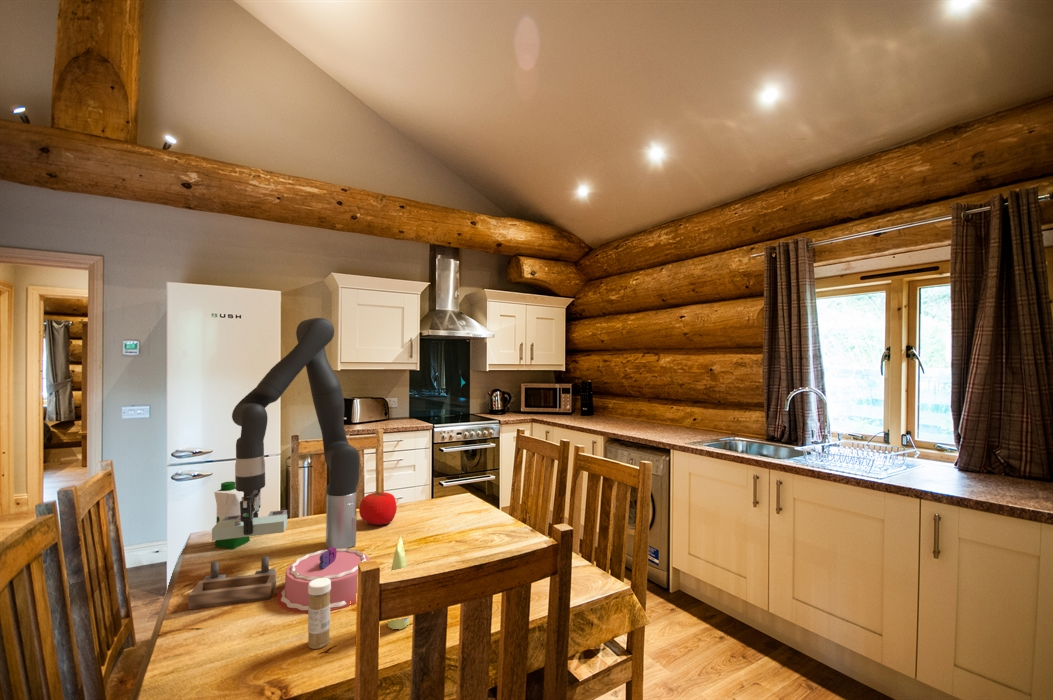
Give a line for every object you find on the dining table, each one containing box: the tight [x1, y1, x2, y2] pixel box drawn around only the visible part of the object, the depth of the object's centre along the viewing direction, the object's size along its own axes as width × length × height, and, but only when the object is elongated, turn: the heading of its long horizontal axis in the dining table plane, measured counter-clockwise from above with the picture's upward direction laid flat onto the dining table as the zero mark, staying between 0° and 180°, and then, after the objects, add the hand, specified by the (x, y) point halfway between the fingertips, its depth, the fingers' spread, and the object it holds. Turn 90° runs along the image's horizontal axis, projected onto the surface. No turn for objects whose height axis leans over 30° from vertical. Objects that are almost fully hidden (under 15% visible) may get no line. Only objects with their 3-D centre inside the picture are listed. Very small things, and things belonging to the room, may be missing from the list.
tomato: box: [358, 491, 397, 526], centre depth 181 cm, size 13×14×12 cm
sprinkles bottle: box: [307, 578, 331, 650], centre depth 106 cm, size 5×5×14 cm
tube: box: [387, 535, 410, 630], centre depth 114 cm, size 6×5×20 cm
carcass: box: [187, 555, 277, 610], centre depth 127 cm, size 18×10×7 cm, turn 107°
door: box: [211, 509, 288, 542], centre depth 142 cm, size 18×11×4 cm, turn 108°
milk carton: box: [213, 480, 251, 550], centre depth 160 cm, size 9×9×20 cm
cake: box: [276, 547, 371, 615], centre depth 130 cm, size 25×25×11 cm
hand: (251, 529), depth 140 cm, fingers closed on door, 6 cm apart
